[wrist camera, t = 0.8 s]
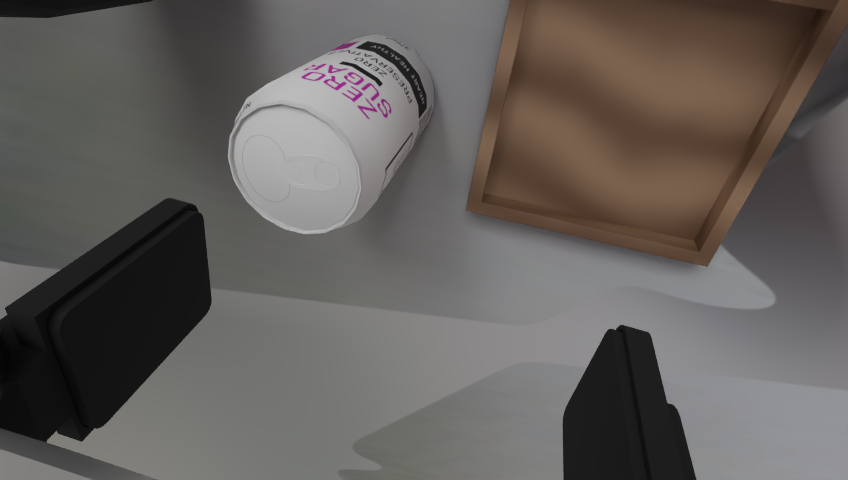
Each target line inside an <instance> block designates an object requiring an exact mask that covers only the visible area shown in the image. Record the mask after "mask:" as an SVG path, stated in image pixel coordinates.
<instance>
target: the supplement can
mask: <svg viewBox="0 0 848 480" xmlns="http://www.w3.org/2000/svg"><path fill="white" fill-rule="evenodd" d="M433 109H434V85H433V82H432V79H431V77H430V74H429V71H428V68H427V66H426V65H425V64H424V62H423V61H422V60H421V59H420V57H419V56H418V55H417V54H416V52H415V51H414V50H413V49H412V48H410V47H409V46H407V45H405V44H404V43H402V42H401V41H399V40H397V39H396V38H392V37H387V36H382V35H377V34H373V35H368V36H363V37H358V38H355V39H353V40H351V41H349V42H347V43H345V44H343V45H341V46H339V47H337V48H336V49H334V50H332V51H330V52H328V53H326V54H324V55H322V56H320V57H318V58H316V59H314V60H312V61H310V62H308V63H307V64H305V65H303V66H301V67H299V68H297V69H295V70H293V71H291V72H289V73H287V74H285V75H283V76H281V77H280V78H278V79H276V80H274V81H272V82H270V83H268V84H266V85H265V86H263V87H262V88H261V89H259V90H258V91H256V92H255V93H253V94H252V95H251V96H249V97H248V98H247V99H246V101H245V102H244V104H243V106H242V108H241V110H240V111H239V113H238V115H237V117H236V119H235V125H234V129H233V131H232V133H231V134H230V138H229V149H228V160H229V164H230V168H231V172H232V176H233V180H234V181H235V183H236V185H237V187H238V188H239V190H240V192H241V193H242V195H243V197H244V198H245V200H246V201H247V202H248V203H249V204H250V205H251V206H252V207H253V208H254V209H255V210H256V211H257V212H258V213H259V214H260V215H261V216H262V217H263V218H265V219H267V220H269V221H270V222H272V223H274V224H276V225H277V226H279V227H281V228H283V229H286V230H290V231H294V232H297V233H301V234H317V233H326V232H328V231H330V230H333V229H341V228H343V227H345V226H347V225H350V224H352V223H354V222H356V221H358V220H360V219H362V217H363V216H364V215H365V214H366V213H367V212H368V211H369V209H370V208H371V207H372V206H373V205H374V204H375V203H376V201H377V200H378V198H379V197H380V195H381V194H382V192H383V191H384V189H385V188H386V186H387V185H388V183H389V182H390V180H391V179H392V177H393V176H394V174H395V173H396V171H397V170H398V168H399V167H400V165H401V164H402V162H403V161H404V159H405V158H406V156H407V155H408V153H409V152H410V150H411V149H412V147H413V146H414V144H415V143H416V141H417V140H418V138H419V137H420V135H421V134H422V133H423V131H424V130H425V128H426V127H427V125H428V123H429V120H430V117H431V114H432V111H433Z"/></svg>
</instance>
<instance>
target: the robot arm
mask: <svg viewBox="0 0 848 480" xmlns="http://www.w3.org/2000/svg"><path fill="white" fill-rule="evenodd" d="M210 306H211V289H210V279H209V269H208V259H207V249H206V239H205V229H204V219H203V216H202V214H201V213H199V212H198V209H197V207H196V206H195V205H193V204H190V203H187V202H183V201H180V200H176V199H172V198H167V199H165V200H163V201H162V202H160V203H159V204H157V205H156V206H154V207H153V208H151V209H150V210H148V211H147V212H146V213H144V214H143V215H141V216H140V217H138V218H137V219H135V220H134V221H132V222H131V223H129V224H128V225H126V226H125V227H123V228H122V229H120V230H119V231H118V232H116V233H115V234H113V235H112V236H110V237H109V238H107V239H106V240H104V241H103V242H101V243H100V244H98V245H97V246H95V247H94V248H93V249H91V250H90V251H88V252H87V253H85V254H84V255H82V256H81V257H79V258H78V259H76V260H75V261H73V262H72V263H70V264H69V265H67V266H66V267H65V268H63V269H62V270H60V271H59V272H57V273H56V274H54V275H53V276H51V277H50V278H48V279H47V280H45V281H44V282H42V283H41V284H40V285H38V286H37V287H35V288H34V289H32V290H31V291H29V292H28V293H26V294H25V295H23V296H22V297H20V298H19V299H17V300H16V301H15V302H13V303H12V304H10V305H9V306H7V307H6V308H5V310H6V312H7V314H8V315H6V316H5V317H4V318H2V319H1V320H0V480H157V479H154V478H151V477H148V476H145V475H142V474H139V473H136V472H133V471H130V470H127V469H124V468H121V467H119V466H115V465H113V464H110V463H107V462H104V461H100V460H98V459H94V458H92V457H89V456H86V455H83V454H80V453H77V452H74V451H71V450H68V449H65V448H61V447H58V446H55V445H52V444H49V443H47V439H49V438H50V437H51V435H53V434H54V432H55V431H57V432H58V434H61V435H64V436H67V437H70V438H73V439H76V440H79V441H83V440H84V439H85V438H86V437H87V436H88V434H89V433H90V432H91V431H92V430H93V429H94V428H96V429H97V428H100V427H102V426H104V424H106V423H107V422H108V421H109V420H110V419H111V418H112V417H113V415H114V414H115V413H116V412H117V411H118V410H119V409H120V408H121V407H122V405H124V403H125V402H126V401H127V400H128V399H129V398H130V397H131V396H132V395H133V394H134V392H135V391H136V390H137V389H138V388H139V387H140V386H141V385H142V384H143V383H144V382H145V381H146V379H147V378H148V377H149V376H150V375H151V374H152V373H153V372H154V371H155V370H156V369H157V367H158V366H159V365H160V364H161V363H162V362H163V361H164V360H165V359H166V358H167V357H168V355H169V354H170V353H171V352H172V351H173V350H174V349H175V348H176V347H177V346H178V344H180V342H181V341H182V340H183V339H184V338H185V337H186V336H187V335H188V334H189V332H190V331H191V330H192V329H193V328H194V327H195V326H196V325H197V324H198V323H199V322H200V321H201V320H202V318H203V317H204V316H205V315H206V314H207V312H208V311H209V309H210ZM563 467H564V480H696V477H695V473H694V469H693V465H692V461H691V457H690V453H689V450H688V446H687V442H686V438H685V434H684V430H683V426H682V423H681V419H680V415H679V413H678V410H677V409H676V408H675V406H674V405H672V404H668V403H667V401H666V396H665V392H664V388H663V384H662V380H661V375H660V372H659V367H658V363H657V359H656V355H655V350H654V346H653V342H652V338H651V336H650V334H649V333H648V332H645V331H642V330H638V329H635V328H631V327H627V326H624V325H620V326H619V327H618V328H617V329H616V330H613V329H609V330H608V331H607V332H606V334H605V335H604V337H603V339H602V341H601V343H600V345H599V346H598V348H597V350H596V352H595V354H594V356H593V358H592V360H591V361H590V363H589V365H588V367H587V369H586V371H585V373H584V374H583V376H582V378H581V380H580V382H579V384H578V386H577V387H576V389H575V391H574V393H573V395H572V397H571V399H570V401H569V402H568V404H567V406H566V409H565V412H564V416H563Z"/></svg>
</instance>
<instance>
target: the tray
mask: <svg viewBox="0 0 848 480" xmlns="http://www.w3.org/2000/svg"><path fill="white" fill-rule="evenodd" d="M847 24H848V0H511V1H510V5H509V10H508V15H507V19H506V24H505V29H504V34H503V38H502V43H501V48H500V52H499V57H498V62H497V66H496V71H495V76H494V81H493V85H492V90H491V95H490V99H489V104H488V109H487V113H486V118H485V123H484V127H483V132H482V137H481V142H480V146H479V151H478V156H477V160H476V165H475V170H474V174H473V179H472V184H471V189H470V193H469V198H468V203H467V207H466V211H470V212H475V213H479V214H483V215H487V216H492V217H496V218H500V219H505V220H509V221H513V222H518V223H522V224H526V225H530V226H535V227H539V228H543V229H548V230H552V231H556V232H560V233H565V234H569V235H573V236H578V237H582V238H586V239H590V240H595V241H599V242H603V243H608V244H612V245H616V246H621V247H625V248H629V249H633V250H638V251H642V252H646V253H651V254H655V255H659V256H663V257H668V258H672V259H676V260H681V261H685V262H689V263H693V264H698V265H702V266H706V267H707V266H708V264H709V263H710V261H711V259H712V258H713V256H714V254H715V252H716V251H717V249H718V247H719V245H720V244H721V242H722V240H723V239H724V237H725V235H726V233H727V231H728V230H729V228H730V226H731V225H732V223H733V221H734V220H735V218H736V216H737V214H738V213H739V211H740V209H741V207H742V206H743V204H744V202H745V200H746V199H747V197H748V195H749V194H750V192H751V190H752V188H753V187H754V185H755V183H756V181H757V180H758V178H759V176H760V175H761V173H762V171H763V169H764V168H765V166H766V164H767V162H768V161H769V159H770V157H771V156H772V154H773V152H774V150H775V149H776V147H777V145H778V143H779V142H780V140H781V138H782V137H783V135H784V133H785V131H786V130H787V128H788V126H789V124H790V123H791V121H792V119H793V118H794V116H795V114H796V112H797V111H798V109H799V107H800V105H801V104H802V102H803V100H804V99H805V97H806V95H807V93H808V92H809V90H810V88H811V86H812V85H813V83H814V81H815V79H816V78H817V76H818V74H819V73H820V71H821V69H822V67H823V66H824V64H825V62H826V60H827V59H828V57H829V55H830V54H831V52H832V50H833V48H834V47H835V45H836V43H837V41H838V40H839V38H840V36H841V35H842V33H843V31H844V29H845V28H846V26H847Z"/></svg>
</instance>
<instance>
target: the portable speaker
mask: <svg viewBox="0 0 848 480" xmlns="http://www.w3.org/2000/svg"><path fill="white" fill-rule="evenodd" d="M150 1H153V0H0V17H33V18H51V17H57V16H63V15H69V14H75V13H82V12H88V11H94V10H100V9H107V8H113V7H119V6H125V5H131V4H138V3H144V2H150Z"/></svg>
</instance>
